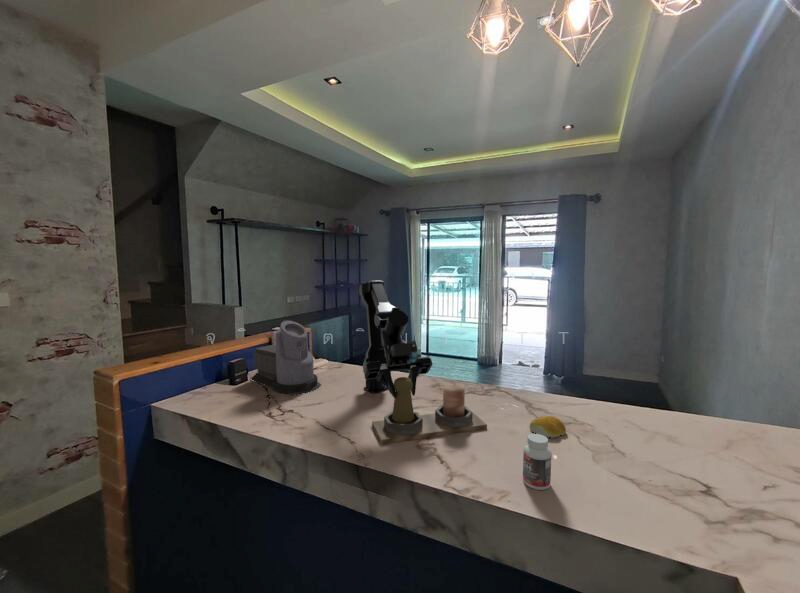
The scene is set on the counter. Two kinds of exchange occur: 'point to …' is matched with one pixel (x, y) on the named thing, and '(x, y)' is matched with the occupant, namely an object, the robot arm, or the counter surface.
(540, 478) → the pill bottle
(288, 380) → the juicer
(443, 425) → the rail
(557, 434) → the bread roll
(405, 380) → the olive green peg
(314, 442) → the counter surface
